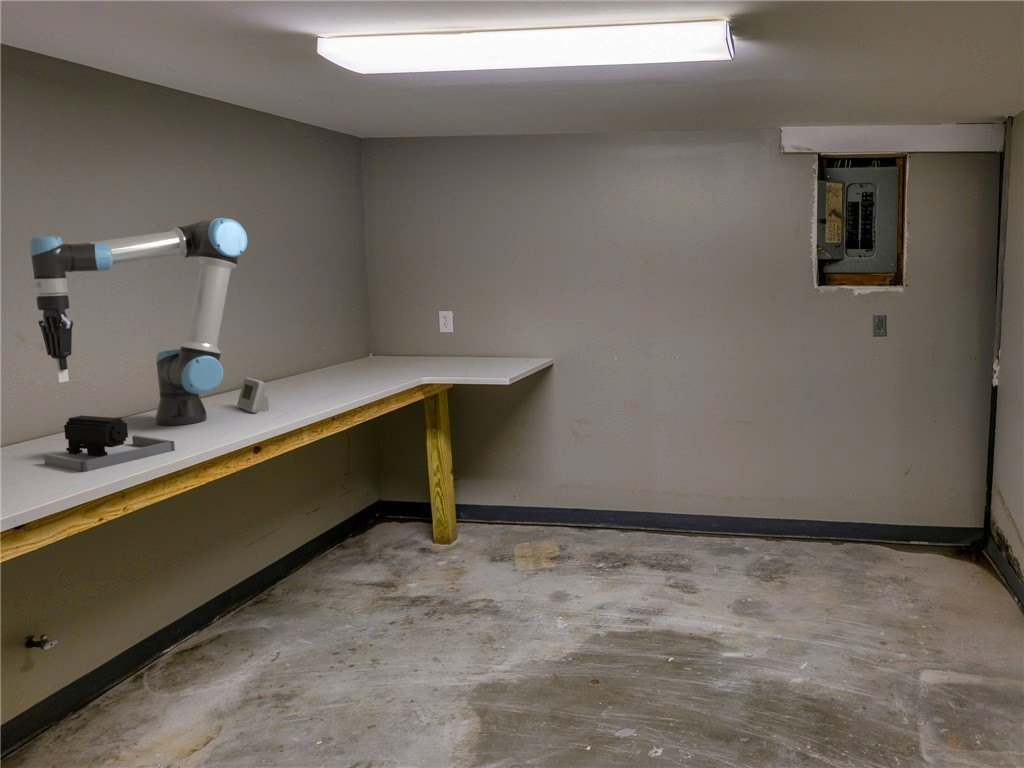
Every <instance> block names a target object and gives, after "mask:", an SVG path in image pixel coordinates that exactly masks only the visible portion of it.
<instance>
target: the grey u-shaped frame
mask: <svg viewBox="0 0 1024 768" xmlns="http://www.w3.org/2000/svg"><path fill="white" fill-rule="evenodd" d="M131 438H132V445H133V446H139V447H138V448H134V449H129V450H126V451H121V452H116V453H112V454H108V455H105V456H102V457H95V458H94V457H93V458H90V459H85V460H83V459H79V458H72V457H68V456H63V455H58V454H53V453H44V454H43V458H44V464H45V465H48V466H53V467H57V468H64V469H69V470H73V471H77V472H83V473H85V472H89V471H94V470H97V469H102V468H106V467H110V466H114V465H118V464H122V463H127V462H131V461H135V460H139V459H143V458H148V457H151V456H157V455H161V454H164V453H169V452H173V451H174V452H175V450H176V449H175V446H176V445H175V441H174V440H168V439H163V438H155V437H149V436H143V435H137V434H135V435H132V436H131Z"/></svg>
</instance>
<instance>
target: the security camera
mask: <svg viewBox="0 0 1024 768" xmlns="http://www.w3.org/2000/svg"><path fill="white" fill-rule="evenodd" d="M65 422H66V424H63V429H64V438H65V440H68V442H67V443H68V447H66V448H65V449H66V451H67V452H68V454H69V455H77V454H78V455H79V454H83V451H84V450H86V453H87V456H89V457H96V458H98V457H102V456H107V455H109V454H108V453H109V452H108V451H106V448H115V447H118V446H122V445H124V444H125V442H126V441H127V438H129V430H128V423H127V422H125V420H123V419H122V418H121V417H120V418H119V417H110V416H109V417H107V416H94V415H93V416H92V415H77V416H73V417H69V418H68V420H67V421H65Z"/></svg>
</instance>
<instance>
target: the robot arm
mask: <svg viewBox="0 0 1024 768" xmlns="http://www.w3.org/2000/svg"><path fill="white" fill-rule="evenodd" d="M247 236H248V235H247V232H246V230H245V229H244V227H243V226H242V225H241V224H240V223H239V222H238V221H236V220H235V219H231V218H224V217H219V218H216V219H215V218H214V219H207V220H206V219H205V220H201V221H197V222H194V223H192V224H191V223H190V224H187V225H183V226H177V227H173V228H172V230H171V231H166V232H165V231H164V232H156V233H148V234H143V235H142V234H141V235H135V236H129V237H121V238H114V239H113V238H112V239H105V240H97V241H91V242H85V243H72V244H71V243H64V242H63V240H62V238H61V237H60V236H52V235H51V236H33V237H31V239H30V242H29V244H30V245H29V246H30V247H29V248H30V257H31V264H32V270H33V271H32V272H33V279H34V284H33V286H34V287H35V288H34V289H35V293H36V295H38V296H36V305H37V310H39V311H43V315H42V318H43V319H42V320H38V326H39V328H40V329H41V330H40V331H41V334H42V337H43V341H44V346H45V350H46V354H47V356H50V357H51V358H52V359H53V366H54V367H53V368H54V374H55V382H56V383H64V382H65V383H66V382H70V379H69V369H68V362H67V361H68V359H67V358H68V357H69V356H71V355H72V340H73V339H72V338H73V337H72V335H73V326H74V321H73V320H69V319H67V317H68V316H67V313H66V311H65V310H67V309H69V308H70V306H71V305H70V300H69V299H70V298H69V296H68V292H69V291H68V290H69V289H68V282H67V273H75V272H79V273H80V272H101V271H102V272H103V271H104V272H105V271H108V270H111V268H112V266H113V267H114V266H119V265H124V264H131V263H138V262H145V261H153V260H158V259H163V258H171V257H178V258H179V259H185V258H196V259H197V260H198V261H199V263H200V271H199V277H198V282H197V285H196V292H195V297H194V303H193V309H192V315H191V320H190V325H189V330H188V336H187V341H186V342H185V343H183V344H181V345H180V348H179V349H177V348H176V349H170V350H162V351H159V352H157V354H156V361H155V363H156V369H157V380H158V391H159V401H158V406H157V410H156V414H155V423H156V424H157V425H159V426H160V425H161V426H181V425H182V426H183V425H184V426H185V425H191V424H196V423H201V422H203V421H206V420H207V419H208V418H207V416H208V415H207V411H206V408H205V406H204V404H203V401H202V399H201V396H200V394H201V395H202V394H209V393H211V392H213V391H215V390H216V389H217V388H218V387H219V386H220V385H221V383H222V382H223V378H224V368H223V366H222V364H221V362H220V359H221V352H222V351H220V350H219V348H218V343H219V342H218V341H219V336H220V330H221V325H222V321H223V320H222V319H223V314H224V309H225V304H226V297H227V292H228V286H229V281H230V276H231V271H232V270H233V269H235V268H237V266H238V261H239V256H240V255H242V254H243V253H244V252H245V251H246V250H247V246H248V237H247Z"/></svg>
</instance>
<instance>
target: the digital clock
mask: <svg viewBox="0 0 1024 768" xmlns="http://www.w3.org/2000/svg"><path fill="white" fill-rule="evenodd" d="M266 387H267V383H266V382H264V381H263V380H260V379H257V378H253V377H245V378H244V379H243V382H242V387H241V389H240V392H239V395H238V399H237V400H238V401H237V403H236V405H237V407H238V409H241V410H242V411H245V412H248V413H250V414H251V413H252V414H258V413H259V412H268V411H269V410H270V408H269V399H268V396H266V395H265V391H266Z"/></svg>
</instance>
